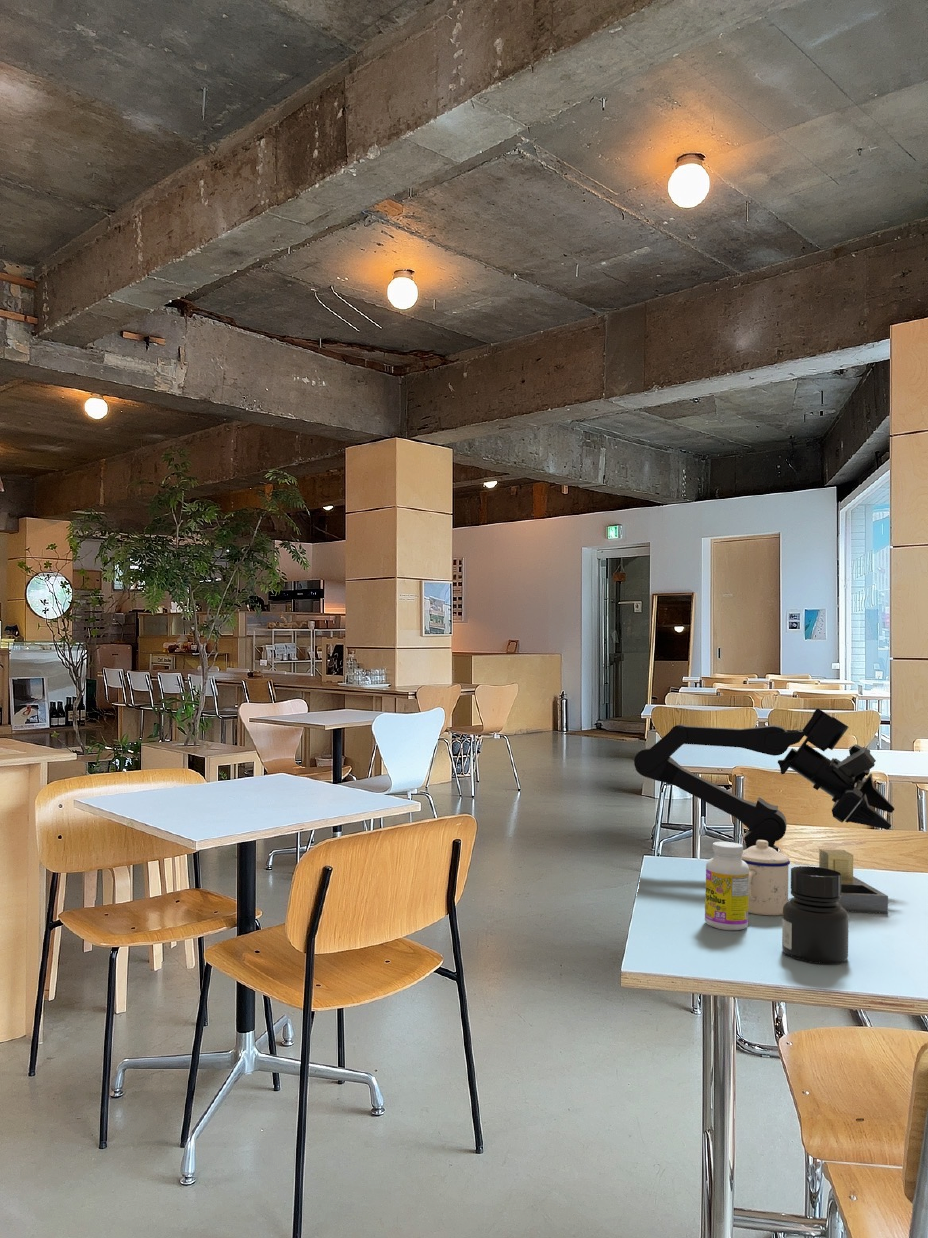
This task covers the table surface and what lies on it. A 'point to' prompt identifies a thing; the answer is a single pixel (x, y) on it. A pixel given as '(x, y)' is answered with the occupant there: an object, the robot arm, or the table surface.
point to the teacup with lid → (766, 879)
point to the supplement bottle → (727, 887)
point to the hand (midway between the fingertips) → (891, 819)
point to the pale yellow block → (837, 863)
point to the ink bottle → (815, 917)
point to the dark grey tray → (862, 898)
